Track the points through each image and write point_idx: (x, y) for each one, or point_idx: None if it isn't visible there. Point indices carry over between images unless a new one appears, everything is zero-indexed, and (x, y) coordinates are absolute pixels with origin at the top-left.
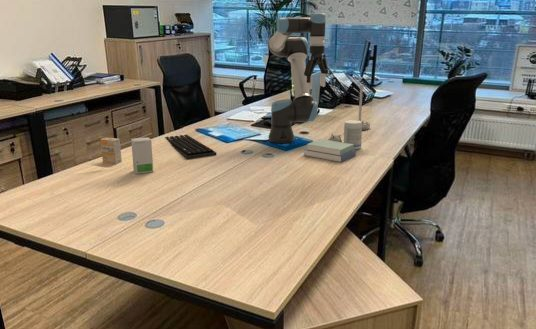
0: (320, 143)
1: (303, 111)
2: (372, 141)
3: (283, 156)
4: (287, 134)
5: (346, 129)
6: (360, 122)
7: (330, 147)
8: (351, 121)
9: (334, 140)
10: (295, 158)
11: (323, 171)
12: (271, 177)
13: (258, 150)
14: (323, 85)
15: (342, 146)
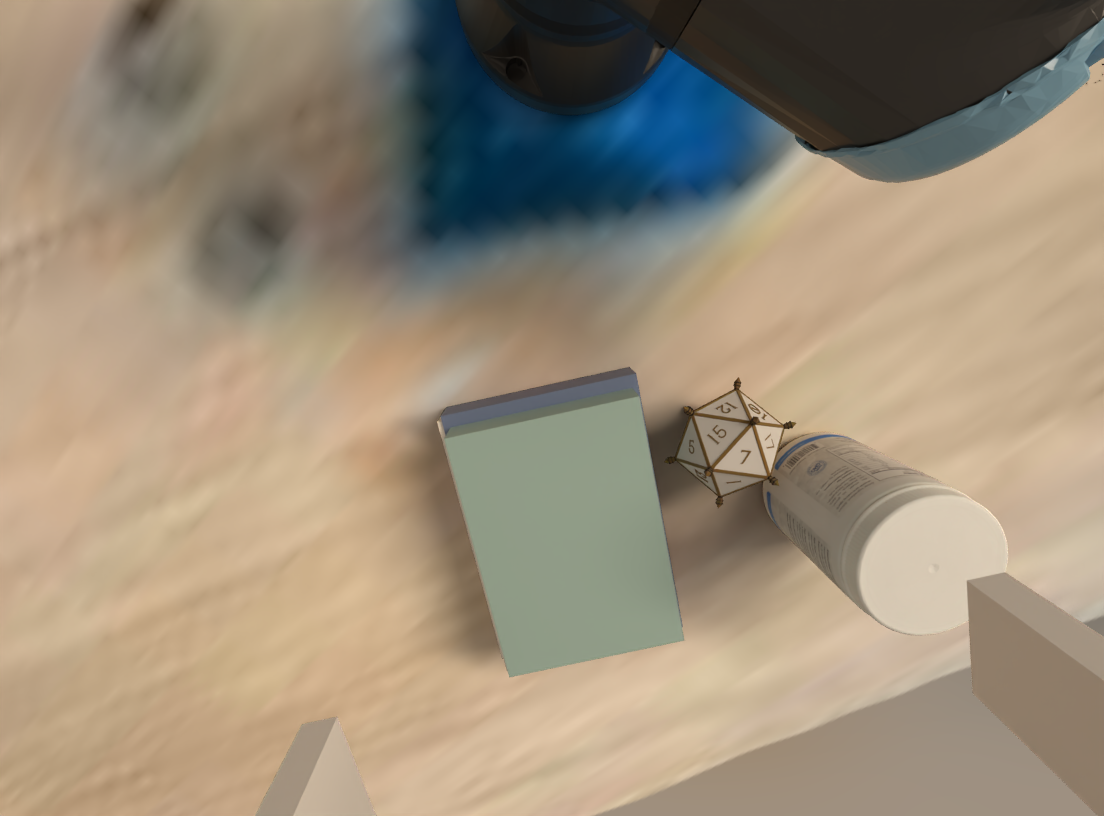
0: (534, 489)
1: (769, 82)
2: (1046, 464)
3: (317, 337)
4: (552, 76)
5: (826, 531)
6: (941, 629)
7: (504, 602)
8: (936, 549)
9: (698, 472)
10: (350, 423)
11: (312, 687)
12: (17, 598)
13: (262, 77)
14: (986, 680)
15: (584, 631)
